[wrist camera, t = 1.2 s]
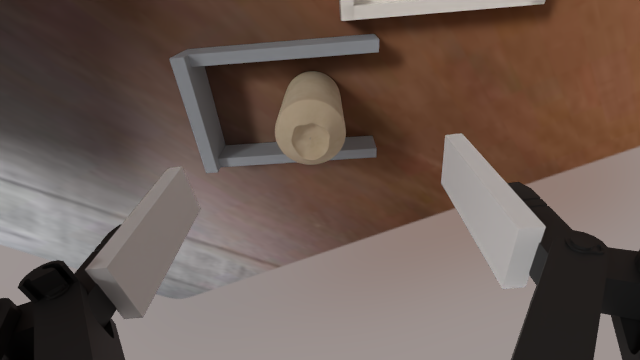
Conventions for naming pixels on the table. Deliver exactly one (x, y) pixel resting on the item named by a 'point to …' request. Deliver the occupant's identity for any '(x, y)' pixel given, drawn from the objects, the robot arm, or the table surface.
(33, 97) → the table surface
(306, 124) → the candle
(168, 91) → the table surface
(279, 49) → the bracket
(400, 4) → the tray
